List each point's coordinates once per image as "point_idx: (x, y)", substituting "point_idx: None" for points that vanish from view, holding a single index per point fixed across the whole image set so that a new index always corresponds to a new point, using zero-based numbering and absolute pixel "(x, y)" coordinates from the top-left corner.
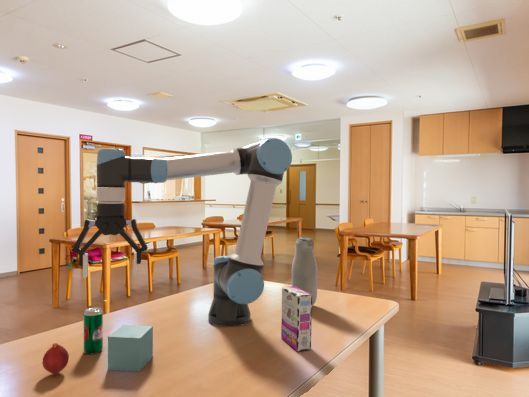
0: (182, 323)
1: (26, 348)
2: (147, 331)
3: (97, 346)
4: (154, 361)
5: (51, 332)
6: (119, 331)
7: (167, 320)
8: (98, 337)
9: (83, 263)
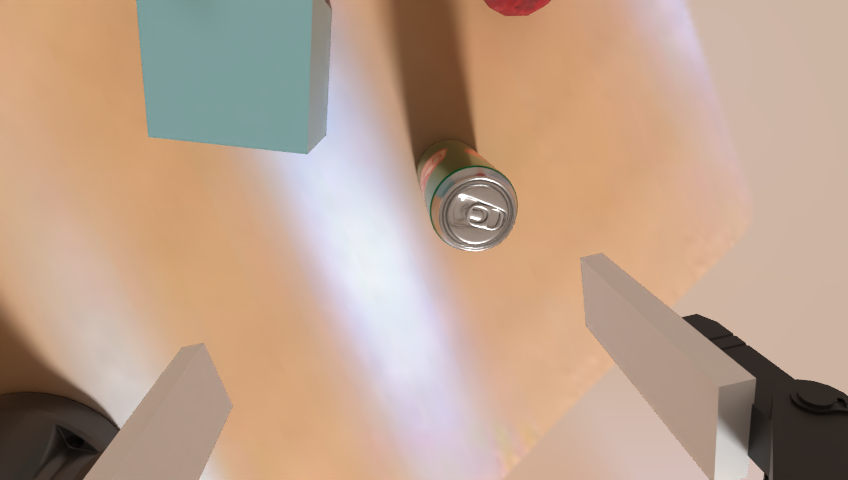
0: None
1: (679, 189)
2: (142, 64)
3: (427, 154)
4: None
5: None
6: (285, 61)
7: (284, 432)
8: (427, 163)
9: (674, 316)
